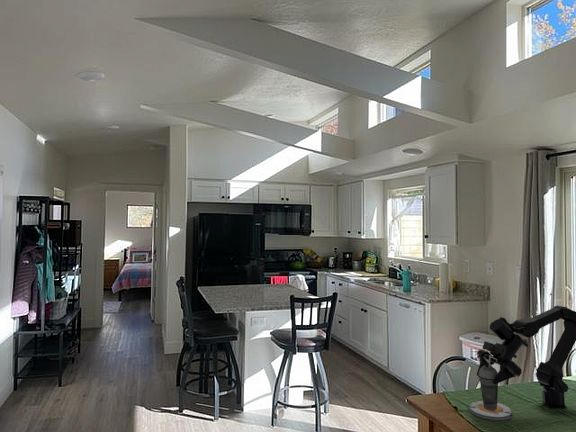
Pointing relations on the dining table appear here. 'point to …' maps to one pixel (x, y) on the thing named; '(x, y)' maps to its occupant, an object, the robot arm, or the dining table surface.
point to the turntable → (500, 412)
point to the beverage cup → (488, 386)
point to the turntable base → (491, 418)
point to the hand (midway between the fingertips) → (485, 379)
